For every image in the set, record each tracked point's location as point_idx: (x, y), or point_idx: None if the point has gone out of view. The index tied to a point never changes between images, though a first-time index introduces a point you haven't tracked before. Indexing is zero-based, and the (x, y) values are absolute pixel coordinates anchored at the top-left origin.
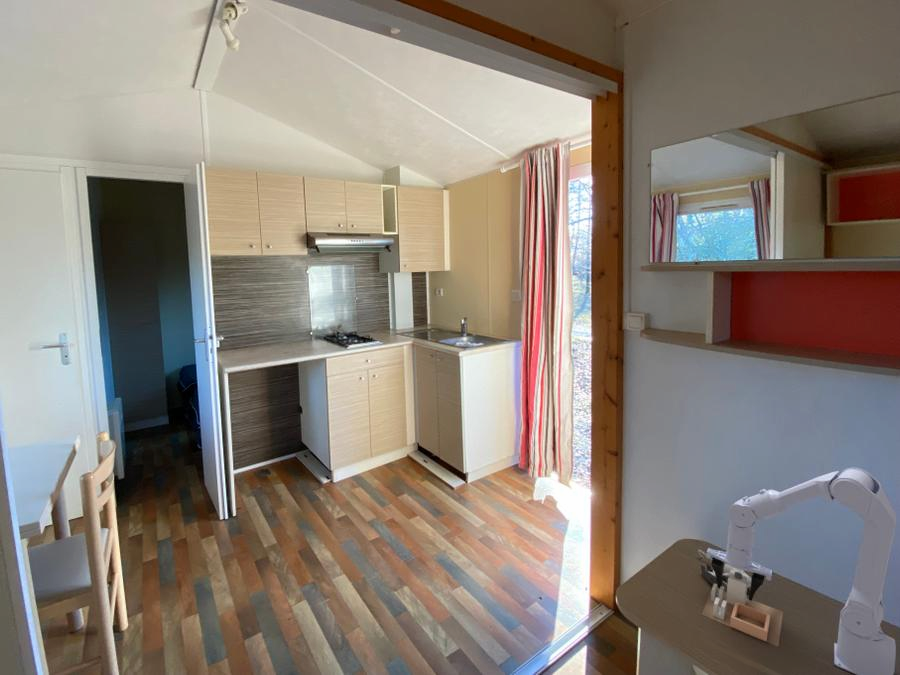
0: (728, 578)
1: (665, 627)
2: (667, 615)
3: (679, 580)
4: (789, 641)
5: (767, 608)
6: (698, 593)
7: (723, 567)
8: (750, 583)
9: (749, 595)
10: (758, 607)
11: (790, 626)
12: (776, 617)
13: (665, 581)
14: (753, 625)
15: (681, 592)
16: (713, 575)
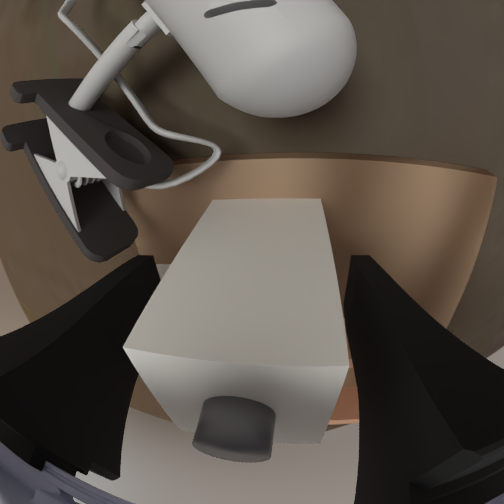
0: (183, 425)
1: (160, 410)
2: (137, 387)
3: (39, 220)
4: (459, 323)
5: (436, 197)
6: (112, 257)
7: (61, 341)
8: (346, 80)
9: (349, 344)
10: (391, 218)
11: (493, 237)
12: (461, 251)
13: (32, 261)
14: (349, 421)
15: (84, 289)
16: (72, 228)
